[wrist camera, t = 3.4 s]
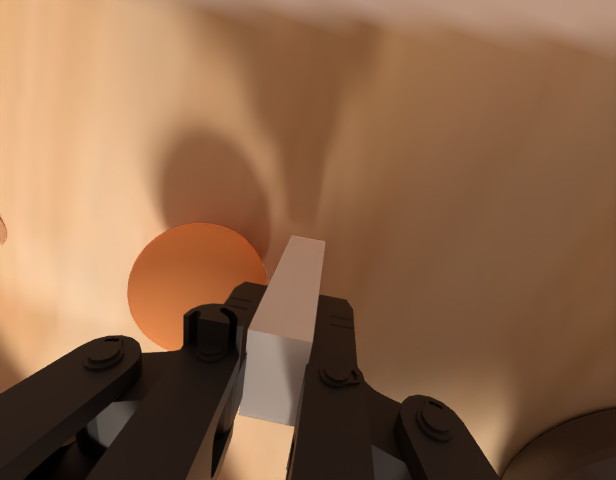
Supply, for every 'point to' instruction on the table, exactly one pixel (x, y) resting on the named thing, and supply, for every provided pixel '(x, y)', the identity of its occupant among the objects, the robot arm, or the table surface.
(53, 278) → the table surface
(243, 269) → the ball
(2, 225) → the pin
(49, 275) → the table surface
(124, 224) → the table surface
